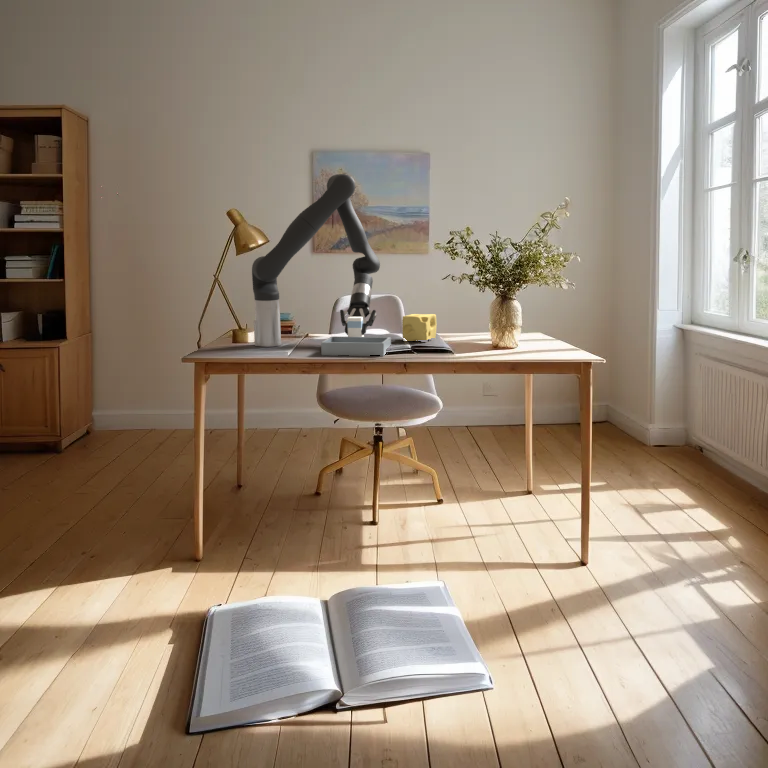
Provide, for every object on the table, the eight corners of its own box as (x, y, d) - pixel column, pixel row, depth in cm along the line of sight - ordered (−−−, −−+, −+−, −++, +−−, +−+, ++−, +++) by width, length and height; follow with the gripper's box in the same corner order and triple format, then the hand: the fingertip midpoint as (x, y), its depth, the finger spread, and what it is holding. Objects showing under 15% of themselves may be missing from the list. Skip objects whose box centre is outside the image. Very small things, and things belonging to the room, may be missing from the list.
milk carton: (348, 347, 302) (347, 317, 299) (350, 345, 306) (350, 316, 304) (361, 347, 301) (361, 318, 299) (364, 345, 306) (363, 316, 303)
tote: (321, 355, 285) (321, 342, 284) (331, 348, 300) (331, 336, 299) (383, 356, 281) (383, 343, 280) (390, 349, 296) (390, 337, 295)
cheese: (426, 343, 311) (426, 316, 310) (400, 341, 316) (400, 315, 314) (437, 339, 321) (436, 313, 319) (411, 338, 325) (411, 313, 323)
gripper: (340, 291, 308) (334, 327, 299) (378, 291, 306) (372, 327, 296) (344, 304, 314) (337, 339, 305) (380, 304, 312) (375, 340, 303)
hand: (354, 333), depth 301 cm, fingers closed on milk carton, 5 cm apart
